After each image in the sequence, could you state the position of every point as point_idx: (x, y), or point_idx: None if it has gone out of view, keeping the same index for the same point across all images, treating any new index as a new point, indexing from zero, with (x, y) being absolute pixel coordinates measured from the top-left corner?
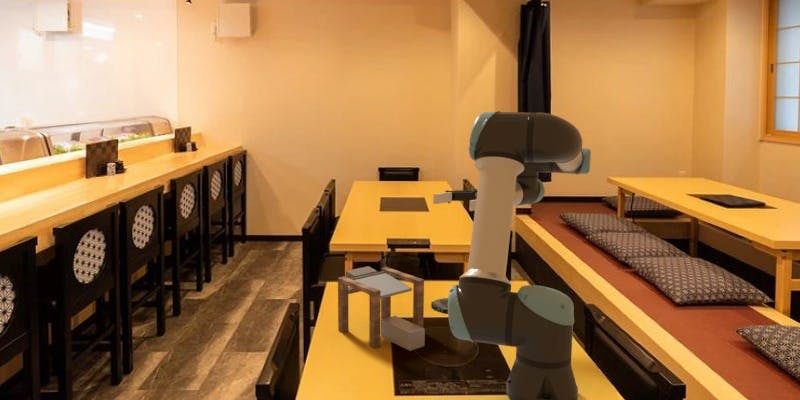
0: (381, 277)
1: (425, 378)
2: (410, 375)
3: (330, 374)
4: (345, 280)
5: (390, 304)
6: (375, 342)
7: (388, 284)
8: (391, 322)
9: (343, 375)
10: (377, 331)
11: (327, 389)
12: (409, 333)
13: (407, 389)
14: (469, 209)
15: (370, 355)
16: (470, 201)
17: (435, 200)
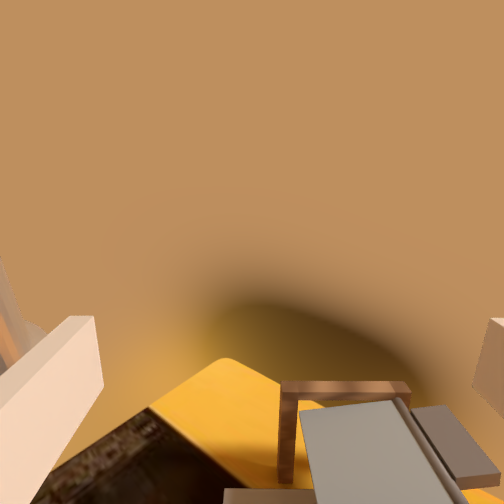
0: (412, 473)
1: (133, 459)
2: (159, 449)
3: (241, 385)
4: (377, 381)
5: None
6: (277, 463)
7: (359, 466)
8: (298, 497)
9: (228, 392)
10: (278, 452)
11: (214, 369)
12: (226, 489)
13: (139, 422)
14: (101, 377)
15: (256, 448)
16: (85, 322)
17: (480, 364)
